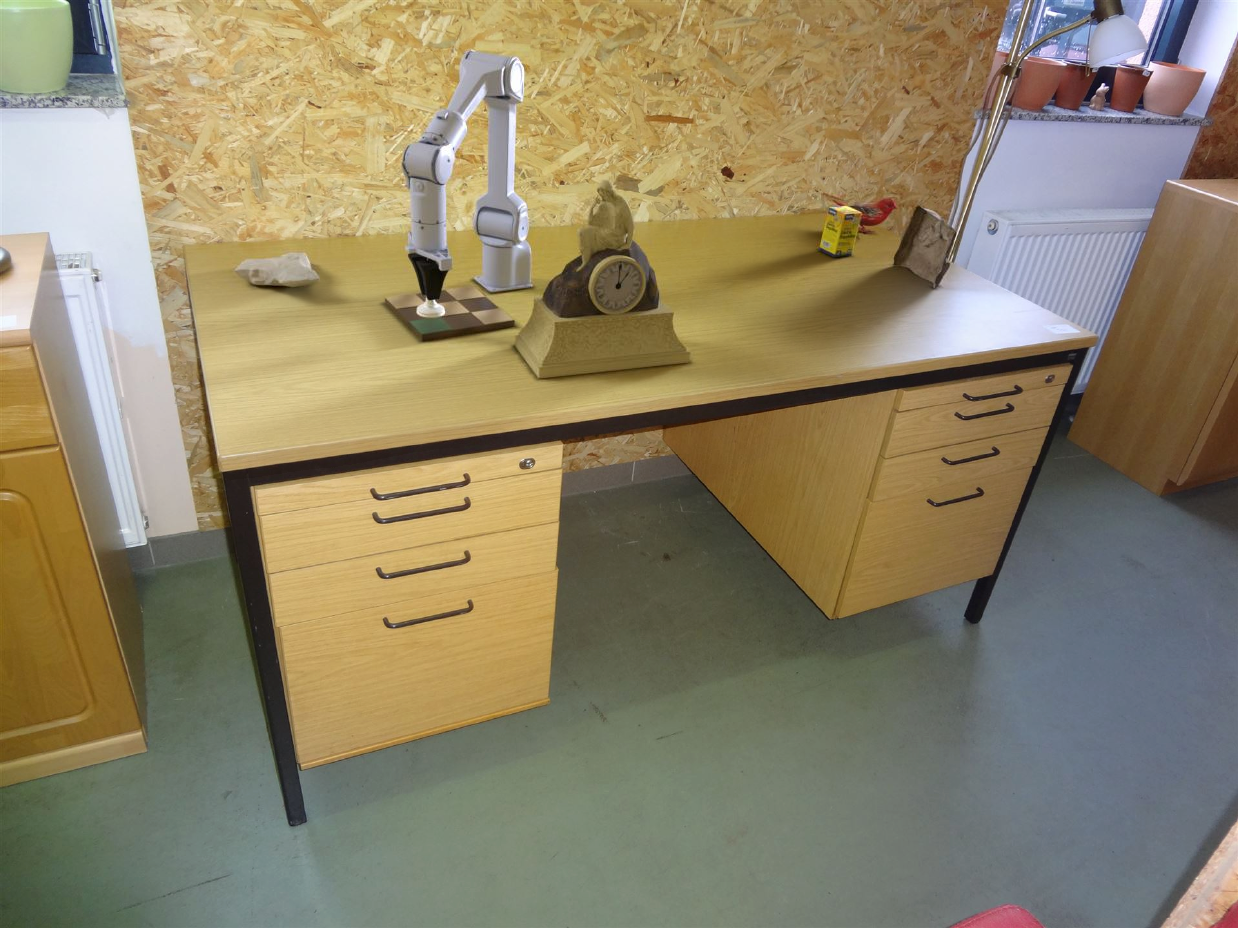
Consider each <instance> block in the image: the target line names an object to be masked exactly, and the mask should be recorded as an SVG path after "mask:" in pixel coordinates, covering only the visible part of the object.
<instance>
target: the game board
mask: <svg viewBox="0 0 1238 928" xmlns="http://www.w3.org/2000/svg"><path fill="white" fill-rule="evenodd" d="M424 302H426V295H422V293H421V292H419V293H408V294H400V295H393V296H386V297H384V304H385V305H386V307H388V308H389V309H390V310H391V312H392V313H393V314H394V315H396V316H397V318H398V319H400V320H401V322H403V324H405V326H407V328H408V329H409V330H410V331H411V332H412V333H413V334H414V335H415V336H416V337H417V338H418V339H419V340H420V341H421V342H425V341H431V340H438V339H444V338H450V337H451V338H452V337H457V336H462V335H469V334H476V333H482V332H487V331H494V330H499V329H500V330H501V329H506V328H511V327H515V319H513V318H512V317H511V316H510V315H508V313H506V312H505V311H504V310H502V309H501V308H500V307H499V306H497V305H496V304H495V303H494V302H493V301H491V300H490V299H489V298H488V297H486V296H485V295H484V294H483V293H482V292H481V291H479V290H478V289H477V288H475V287H474V286H473V285H468V286H462V287H454V288H448V289H447V288H446V289H442V291H441V295H440V298H439V299H436V300H435V302H436V303H437V304H439V305H441V306H443V307H444V309H445V310H444V311H445V314H444V315H442V316H440V317H435V318H428V317H422V316H420V315H418V314H417V313H416V311H417V307H418V306H419V305H422V304H424Z"/></svg>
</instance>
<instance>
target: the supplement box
mask: <svg viewBox="0 0 1238 928" xmlns="http://www.w3.org/2000/svg"><path fill="white" fill-rule="evenodd" d="M848 206H849V205H847V206H843V207H841V206H829V207H828V209H827V214H826V218H825V222H824V227H823V232H822V235H821V239H820V244H819V251H821V252H823V253H825V254H827V255H828V256H831V257H833V258H837V257H849V256H850V257H851V256H852V254H853V251H854V246H855V242H856V239H857V235H858V230H859V229H858V228H859V227H860V224H859V223H860V219H861V215H862V212H860V211H857V210H855V209H852V208H850V207H848Z"/></svg>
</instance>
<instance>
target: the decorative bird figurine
mask: <svg viewBox="0 0 1238 928" xmlns="http://www.w3.org/2000/svg"><path fill="white" fill-rule="evenodd" d="M832 202H833V203H834V204H836V205H838V207H843V206H848V207H850V208H852V209H855V210H857V211H860V212H862V215H861V219H860V223H859V227H858V230H860V231H863V232H866V233H875V234H876V231H874V230H873V231H872V230H871V229H868V228H866V227H874V226H877V225H880V224H882V223H884V222H885V221H886V220H887V219H888V217H889V216H890V215H891V214H892V213H893V211H894V210H898V206H897V205H896V203H895V200H894V199H893V198H891V197H890V198H889V197H888V198H884V199H881V200H879V201H877V202H875V203H859V204H854V205H853V204H852V205H847V204H845V203H842V202H839V201H837V200H835V199H833V200H832Z"/></svg>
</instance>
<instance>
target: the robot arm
mask: <svg viewBox="0 0 1238 928" xmlns="http://www.w3.org/2000/svg"><path fill="white" fill-rule="evenodd" d="M460 59H461V60H460V61H459V72H458V75H459V82H458V85H457V86H456V88H455V91H454V92H453V94H452V97H451V99H450V101H449V103H448V105H447V106H446V108H442V109H439V110H437V111H436V112H435V114H434V115H433V117H432V119H430V122H429V124H428V125H427V126H426V128H425V130H424V131H423V133H422V135H420V138H419V140H418V141H413V142H412V143H409V144H408V145H407V146H406V147H405V148H404V151H403V154H402V160H401V162H400V163H401V164H400V165H401V170H402V173H403V175H404V178H405V185H406V187H407V190H409V196H410V197H409V199H410V224H411V226H410V227H411V229H410V230H411V231H408V232H407V243H408V244H406V245H405V246H404V249H405V251H406V252H407V253H408V254H407V257H408V259H409V261H410V263H411V265H412V267H413V270H414V272H415V275H416V279H417V282H418V286H419V290H420V293H422V295H426V297H427V299H428V300H436V299H439V298H440V295H441V291H442V290H443V287H444V283H445V279H446V277H447V274H448V273H449V271H453V257H451V255H450V250H449V246H448V244H447V183H448V181H449V180H450V179H451V177H452V173H453V168H454V163H455V161H456V155H455V154H456V152H457V151H458V149H459V147H460V146H461V143H462V142H463V141H464V139H465V137H466V135H467V133H468V127H467V126H468V125H467V124H466V122H467V121H468V119H469V118H470V117H471V115H472V114H473V113H474V111H475V110H476V109H477V107H478V106H479V105H480V103H481V102H482V100H483V101H484V102H485V104H486V105H487V106H488V138H487V139H488V140H487V141H488V143H487V145H488V146H487V149H488V150H487V151H488V152H487V191H486V192H485V193H484V194H482V195H480V196H479V197H478V198H477V199H476V202H475V208H474V209H475V210H474V214H473V218H472V226H473V230H474V233H475V234H476V236H479V237H478V239H479V242H482V257H481V258H482V260H481V261H482V262H481V263H482V264H481V268H482V269H481V272H482V274H481V275H479V276H475V277H474V280H475V282H477V283H478V284H479V285H480V286H482V287H483V288H485V289H486V290H487V291H488V292H489V293H497V292H498V293H499V292H506V291H513V290H518V289H519V290H521V289H527V288H528V289H529V288H532V287H533V284H532V283H531V282H532V281H531V278H532V250H531V246H530V244H529V242H528V241H527V240H526V239H527V236H528V234H529V230H530V219H529V216H528V215H529V214H528V204H527V203H526V202H525V201H524V200H523V199H522V198H521V196H519V195H518V194H517V193H516V192H515V164H516V163H515V162H516V161H515V159H516V133H517V132H516V130H517V105H518V104H522V103H523V102H524V93H525V92H524V90H525V68H524V66H523V63H522V62H521V60H520V59H519V57H518V56H514V55H512V56H509V55H508V56H507V55H502V54H495V53H489V52H483V51H477V50H474V49H468V50H466V51H465V52H464V54H463V55H462V57H461V58H460ZM427 258H428V260H427Z"/></svg>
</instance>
